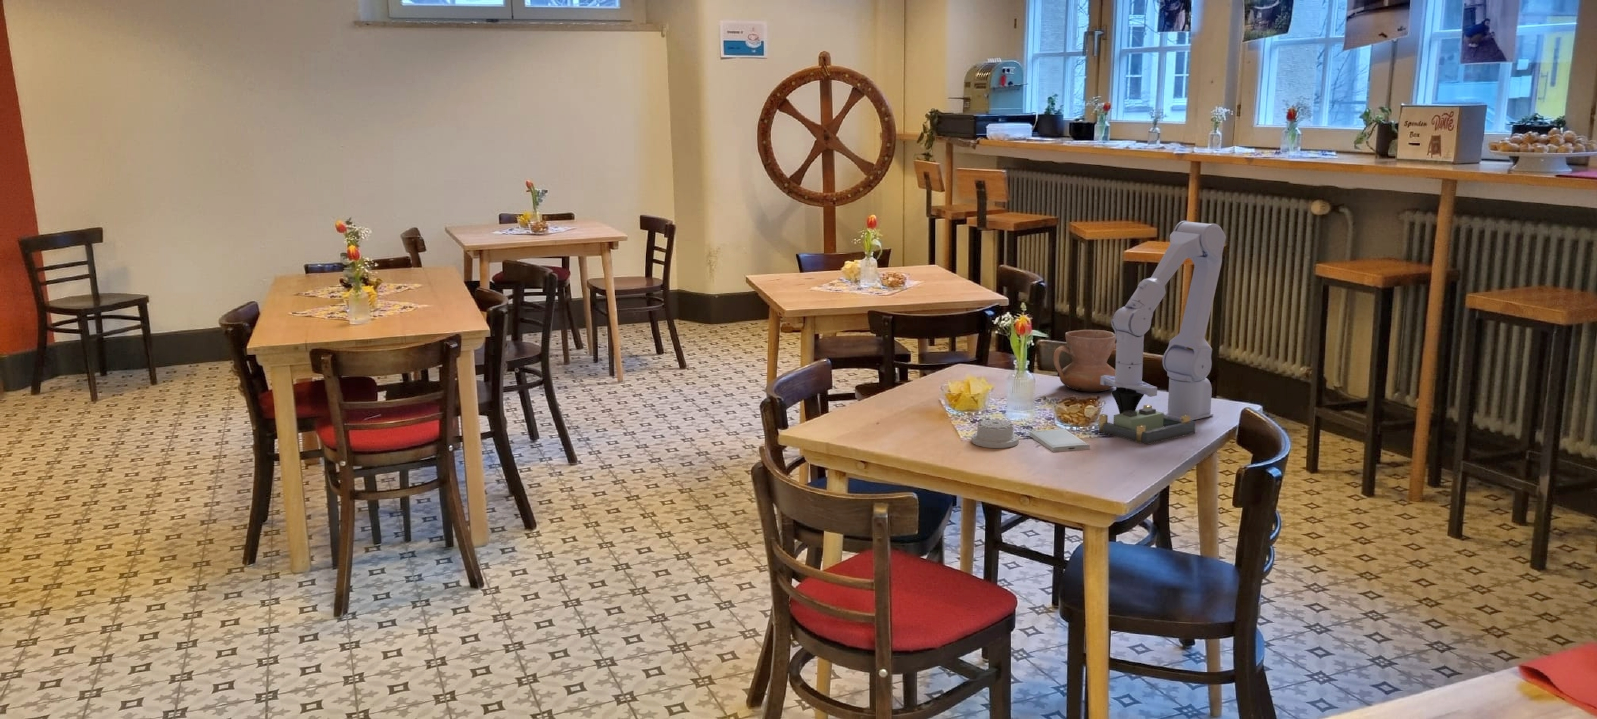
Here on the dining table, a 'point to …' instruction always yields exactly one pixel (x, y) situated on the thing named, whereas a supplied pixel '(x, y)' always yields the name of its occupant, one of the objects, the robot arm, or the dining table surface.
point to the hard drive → (1059, 440)
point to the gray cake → (995, 434)
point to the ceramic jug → (1086, 359)
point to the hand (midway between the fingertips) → (1126, 421)
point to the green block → (1140, 419)
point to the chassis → (1169, 430)
